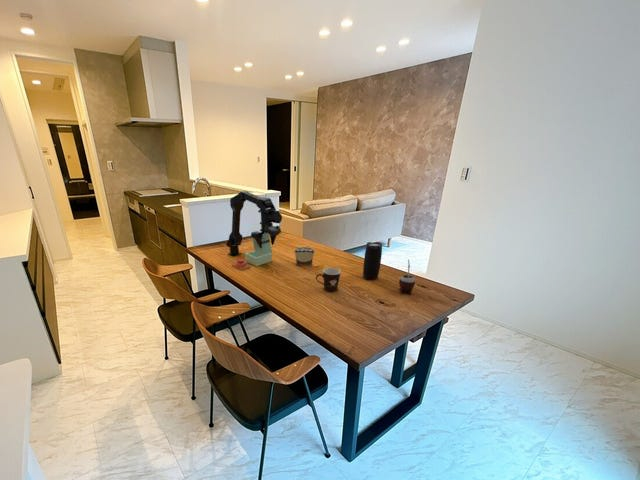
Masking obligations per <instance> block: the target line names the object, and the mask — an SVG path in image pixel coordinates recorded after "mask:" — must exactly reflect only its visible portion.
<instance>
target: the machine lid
mask: <svg viewBox="0 0 640 480" xmlns="http://www.w3.org/2000/svg"><path fill="white" fill-rule="evenodd" d="M262 238H263V239H262V248H260V247H259V245H258V243H257V241H256V240H255V238H253V237H251V240H252V244H253V249H254V250H253V251H255V255H256V257H260V256H263V255H266V254H270V253H272V254H273V250H272V244H271V238H270V234H265V235H262Z"/></svg>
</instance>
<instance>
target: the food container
mask: <svg viewBox="0 0 640 480" xmlns="http://www.w3.org/2000/svg"><path fill="white" fill-rule="evenodd" d="M293 254H295V263H296V266H311V267H312V266H313V259H314V254H315V249H314V248H312V247H308V246H300V247H296V248H294V253H293Z"/></svg>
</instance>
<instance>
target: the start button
mask: <svg viewBox="0 0 640 480" xmlns="http://www.w3.org/2000/svg"><path fill="white" fill-rule="evenodd" d="M237 261H238V263H239V264H241V263H244V261H245V260H244V259H242V258H239V259H237Z"/></svg>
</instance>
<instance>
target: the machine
mask: <svg viewBox="0 0 640 480" xmlns="http://www.w3.org/2000/svg"><path fill="white" fill-rule="evenodd" d="M244 259H245V261H246V263H249V264H251V265H253V266H256V267H258V266H261V265H264V264H267V263H270V262H273V252H272V253H270V254H266V255H263V256H260V257H256V255H255V250H252V251H250V252H246V253H245V255H244Z"/></svg>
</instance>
